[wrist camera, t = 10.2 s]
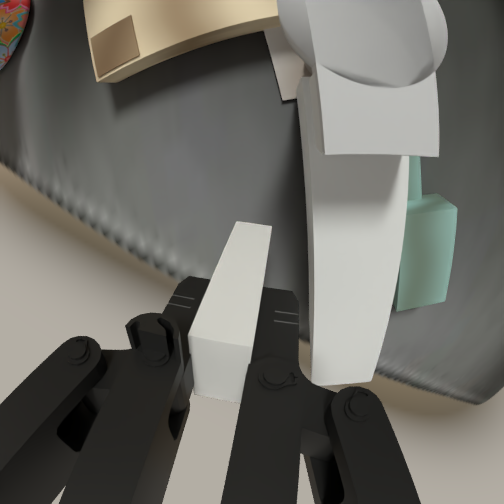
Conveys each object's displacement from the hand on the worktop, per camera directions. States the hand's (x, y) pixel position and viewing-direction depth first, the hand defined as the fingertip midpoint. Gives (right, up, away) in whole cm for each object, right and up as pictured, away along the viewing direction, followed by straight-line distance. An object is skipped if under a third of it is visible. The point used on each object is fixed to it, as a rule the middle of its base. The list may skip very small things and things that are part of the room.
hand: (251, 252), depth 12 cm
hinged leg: (+4, +3, +1) cm, 6 cm away
